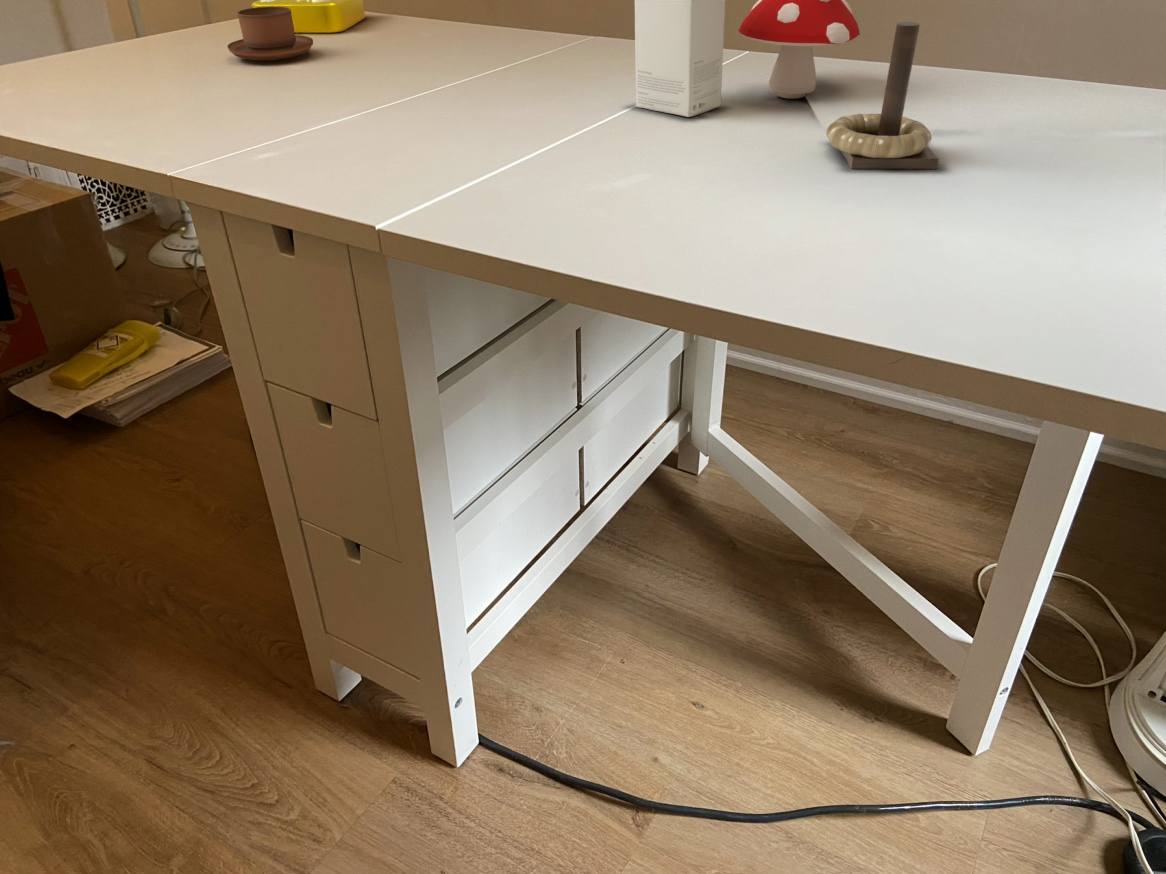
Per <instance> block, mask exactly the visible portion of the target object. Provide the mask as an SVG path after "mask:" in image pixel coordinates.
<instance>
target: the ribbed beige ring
mask: <svg viewBox="0 0 1166 874" xmlns="http://www.w3.org/2000/svg"><path fill="white" fill-rule="evenodd" d="M880 117H881V113H857V114H851V115H845V116H841V117H839V118H838V119H836V120H834V121H833V122H831V123H830V124H829V125H828V127H827V129H826V131H825V132H826V133H825V134H826V138H827V140H828V141H829V143H830V145H831V146H832V147H833V148H835V149H837V150H839V151H840V150H841V151H844V152H846V153H849V154H852V155H858V156H864V157H870V158H901V157H906V156H911V155H916V154H919V153H920V152H922V151H923V150H924V149H925V148H926V147H927V146H928V147H929V146H930V144H931V142H932V139H933V138H932V135H933V134H932V132H931V130H929V129H928V127H926V125H925V124H924V123H923V122H921V121H918V120H916V119H912V118H909V117H906V116H903V117H902V122H901V127H900V132H899V136H876V135H877V134H878V129H879V123H880ZM841 151H840V152H841Z"/></svg>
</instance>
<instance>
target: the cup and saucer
mask: <svg viewBox="0 0 1166 874" xmlns="http://www.w3.org/2000/svg"><path fill="white" fill-rule="evenodd" d="M237 18H238V22H239V26H240V31H241V35H242V38H241V39H237V40H234V41H231V42H230V43H228V44H227V49H228V51H229V52H230V53H231V54H232V55H234V56H235V57H238V58H241V59H245V60H252V61H278V60H285V59H290V58H294V57H297V56H301V55H302V54H306V52H309V50H310V49H311V48H312V46H313V45H314V39H313V38H312V37H310V36H306V35H299V34H296V33H295V31H294V26H293V20H292V14H291V9H290V8H287V7H256V8H252V7H251V8H245V9H241V10H238V11H237Z"/></svg>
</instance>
